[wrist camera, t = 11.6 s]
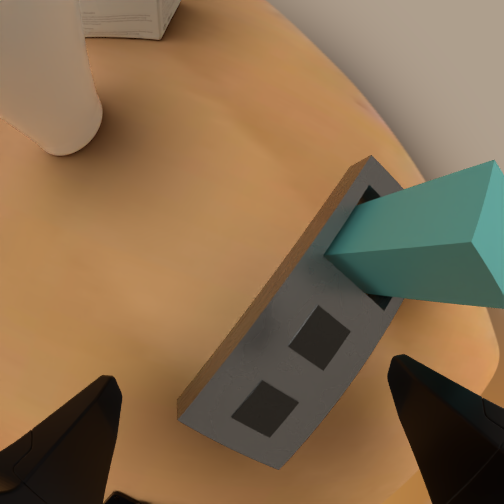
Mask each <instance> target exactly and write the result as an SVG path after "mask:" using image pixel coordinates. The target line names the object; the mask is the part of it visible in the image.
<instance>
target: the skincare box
mask: <svg viewBox="0 0 504 504" xmlns="http://www.w3.org/2000/svg"><path fill="white" fill-rule="evenodd" d="M180 1H181V0H79V5H80V11H81V18H82V24H83V30H84V36H85V37H129V38H146V39H156V40H160V39H161V38H162V36H163V34H164V32H165V30H166V28H167V26H168V24H169V22H170V20H171V18H172V17H173V15H174V13H175V11H176V9H177V7H178V6H179V4H180Z"/></svg>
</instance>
